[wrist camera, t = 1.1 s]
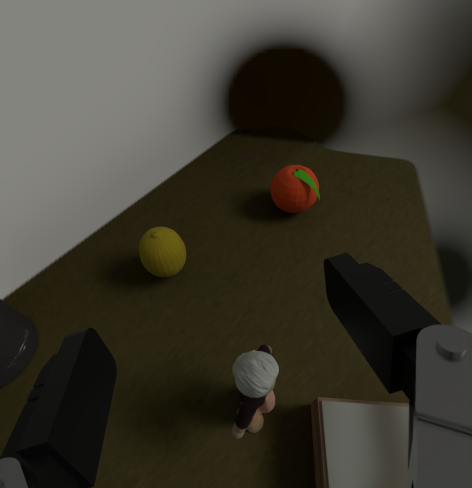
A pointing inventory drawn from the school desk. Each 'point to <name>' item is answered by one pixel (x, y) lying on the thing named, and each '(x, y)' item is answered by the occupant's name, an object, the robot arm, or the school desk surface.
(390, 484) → the plinth
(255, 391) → the grandmother figurine
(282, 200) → the clementine
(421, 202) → the school desk surface
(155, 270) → the lemon
